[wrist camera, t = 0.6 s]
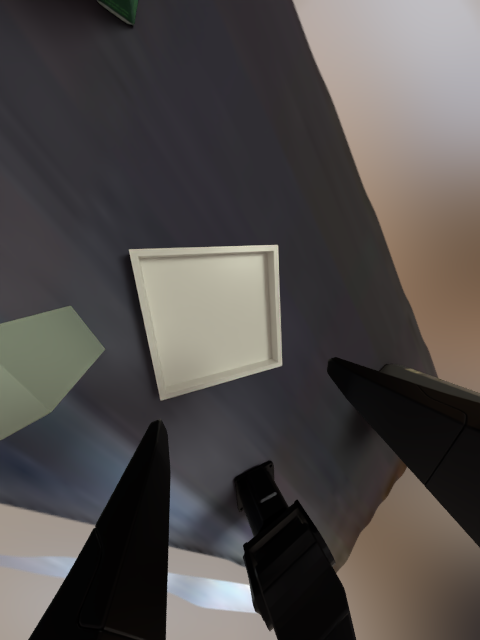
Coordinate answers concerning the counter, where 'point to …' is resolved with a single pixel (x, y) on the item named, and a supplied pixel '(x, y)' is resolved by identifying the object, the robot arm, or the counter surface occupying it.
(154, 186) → the counter surface
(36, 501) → the counter surface
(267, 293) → the tray
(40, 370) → the block
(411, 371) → the liquor
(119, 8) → the coffee box
